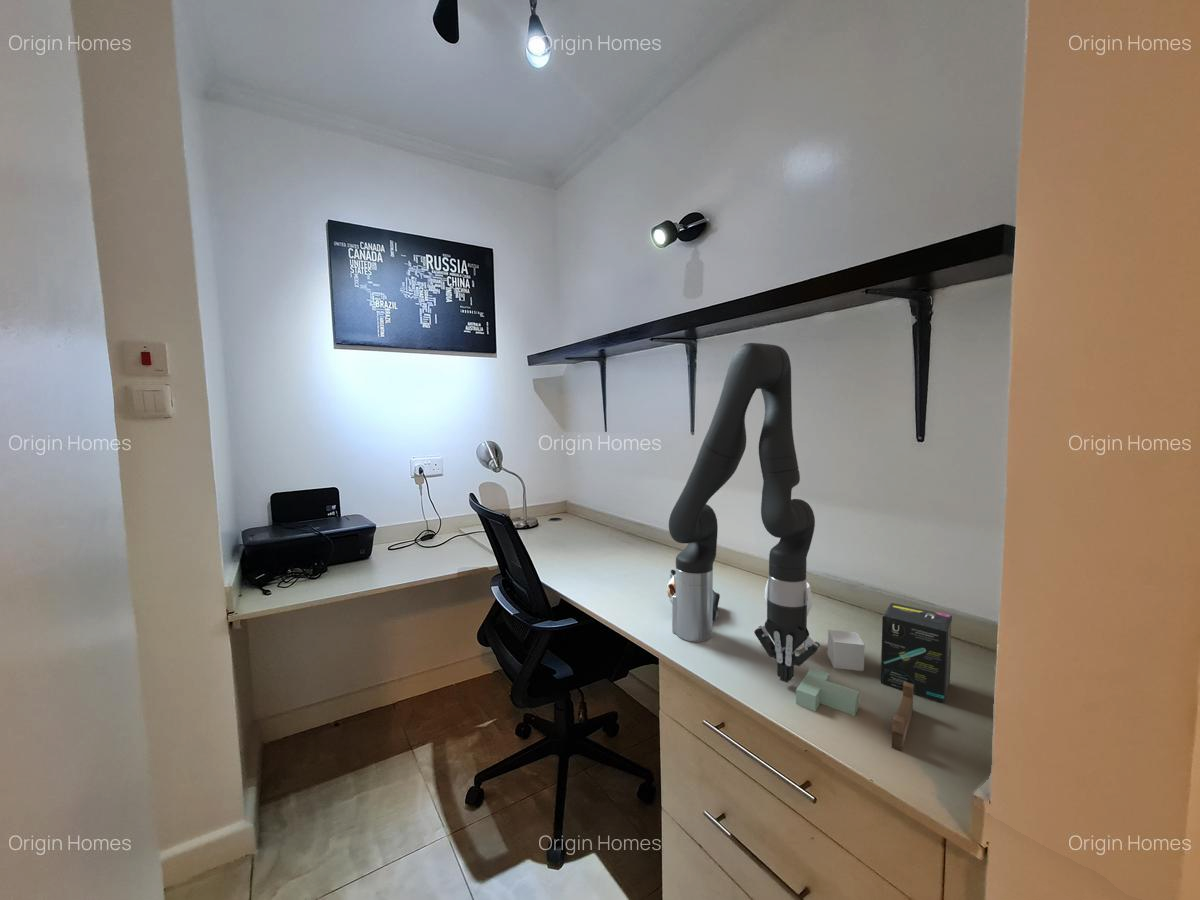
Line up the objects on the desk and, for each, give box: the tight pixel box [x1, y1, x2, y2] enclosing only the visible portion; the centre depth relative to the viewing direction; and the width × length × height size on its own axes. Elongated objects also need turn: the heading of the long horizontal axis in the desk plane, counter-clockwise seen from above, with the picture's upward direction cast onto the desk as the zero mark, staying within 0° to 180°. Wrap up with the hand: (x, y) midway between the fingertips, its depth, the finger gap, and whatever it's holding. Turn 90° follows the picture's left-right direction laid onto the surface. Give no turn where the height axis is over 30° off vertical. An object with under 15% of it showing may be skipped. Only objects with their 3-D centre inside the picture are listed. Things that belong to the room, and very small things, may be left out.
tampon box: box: [880, 602, 953, 703], centre depth 95 cm, size 11×9×15 cm
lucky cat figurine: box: [666, 569, 721, 622], centre depth 129 cm, size 15×12×14 cm
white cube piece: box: [827, 629, 865, 672], centre depth 103 cm, size 6×6×6 cm
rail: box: [891, 681, 914, 752], centre depth 82 cm, size 2×14×5 cm, turn 140°
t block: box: [795, 667, 860, 717], centre depth 89 cm, size 10×10×3 cm
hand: (785, 679), depth 95 cm, fingers closed
